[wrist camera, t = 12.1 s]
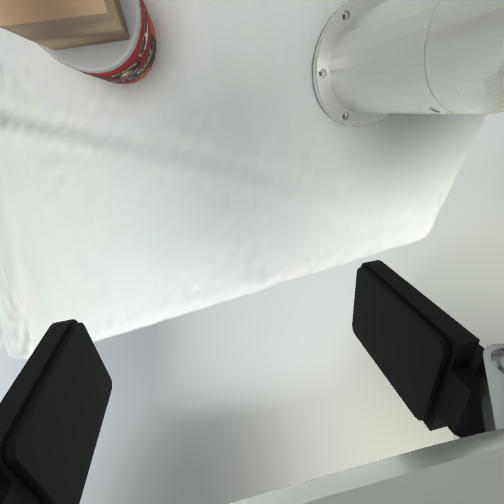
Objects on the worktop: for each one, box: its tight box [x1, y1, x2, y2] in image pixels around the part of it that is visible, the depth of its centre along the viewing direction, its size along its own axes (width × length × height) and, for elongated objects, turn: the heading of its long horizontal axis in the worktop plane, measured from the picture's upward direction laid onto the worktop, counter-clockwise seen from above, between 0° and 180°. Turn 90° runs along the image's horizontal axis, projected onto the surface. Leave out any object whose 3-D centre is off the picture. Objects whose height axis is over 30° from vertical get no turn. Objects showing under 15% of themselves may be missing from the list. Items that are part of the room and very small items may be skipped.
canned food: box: [37, 0, 156, 84], centre depth 22 cm, size 8×8×11 cm
